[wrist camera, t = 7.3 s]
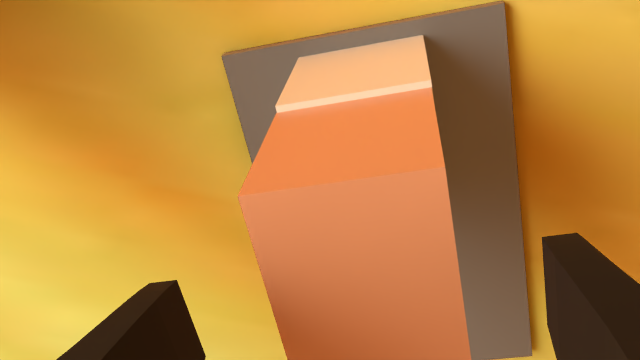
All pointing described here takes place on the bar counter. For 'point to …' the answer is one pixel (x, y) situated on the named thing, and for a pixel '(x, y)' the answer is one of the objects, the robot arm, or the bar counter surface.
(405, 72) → the cream block
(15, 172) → the bar counter surface
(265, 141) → the terracotta block
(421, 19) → the baseplate
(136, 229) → the bar counter surface
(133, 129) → the bar counter surface
